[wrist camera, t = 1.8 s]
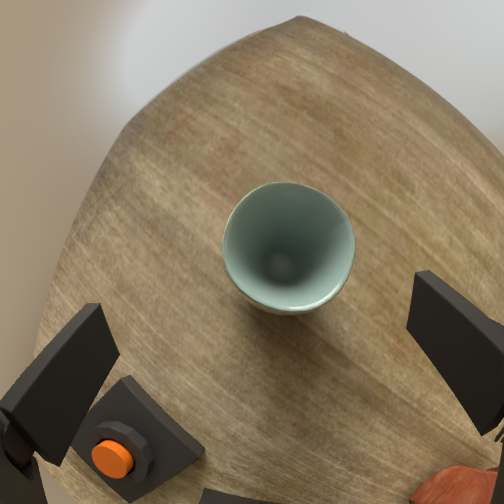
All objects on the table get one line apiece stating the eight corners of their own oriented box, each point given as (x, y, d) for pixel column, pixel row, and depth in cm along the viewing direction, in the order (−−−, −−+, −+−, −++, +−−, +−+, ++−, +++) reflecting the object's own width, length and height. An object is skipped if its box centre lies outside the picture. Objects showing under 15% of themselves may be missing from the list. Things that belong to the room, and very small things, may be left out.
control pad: (73, 431, 21) (54, 441, 17) (130, 374, 23) (110, 382, 19) (136, 494, 20) (123, 511, 16) (204, 447, 21) (196, 466, 18)
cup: (331, 249, 26) (371, 209, 16) (302, 328, 24) (331, 334, 14) (254, 218, 26) (252, 163, 17) (221, 295, 25) (197, 280, 15)
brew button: (94, 449, 18) (85, 455, 16) (112, 432, 18) (103, 439, 17) (121, 476, 17) (113, 483, 16) (141, 461, 18) (134, 469, 16)
